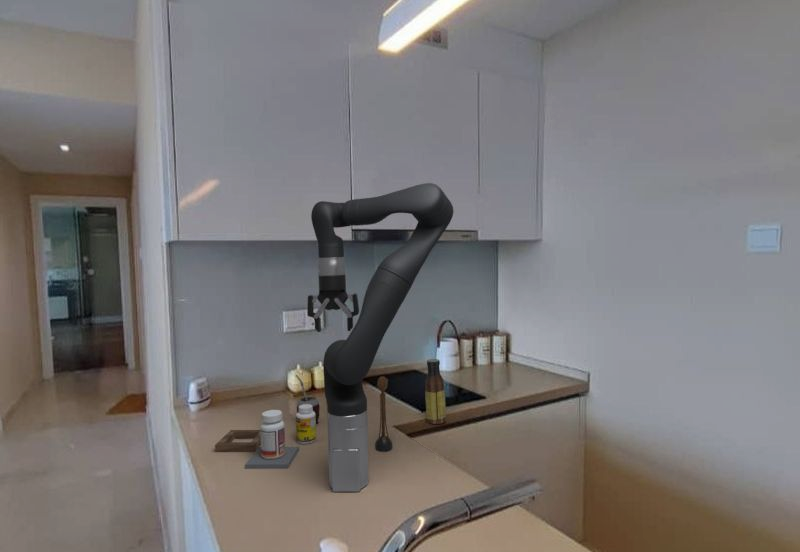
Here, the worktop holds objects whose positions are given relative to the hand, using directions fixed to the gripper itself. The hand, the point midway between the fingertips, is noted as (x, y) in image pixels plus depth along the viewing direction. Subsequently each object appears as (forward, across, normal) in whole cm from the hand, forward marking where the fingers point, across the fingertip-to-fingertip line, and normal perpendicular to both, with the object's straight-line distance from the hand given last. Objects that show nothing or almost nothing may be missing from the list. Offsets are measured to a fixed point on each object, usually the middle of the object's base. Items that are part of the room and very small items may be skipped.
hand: (334, 331), depth 131 cm
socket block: (+32, +28, 0) cm, 42 cm away
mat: (+32, +16, +10) cm, 37 cm away
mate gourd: (+32, +12, -16) cm, 38 cm away
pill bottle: (+31, +16, +10) cm, 36 cm away
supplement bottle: (+32, +10, -2) cm, 34 cm away
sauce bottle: (+33, -29, -16) cm, 46 cm away
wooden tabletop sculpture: (+32, -13, +4) cm, 35 cm away
